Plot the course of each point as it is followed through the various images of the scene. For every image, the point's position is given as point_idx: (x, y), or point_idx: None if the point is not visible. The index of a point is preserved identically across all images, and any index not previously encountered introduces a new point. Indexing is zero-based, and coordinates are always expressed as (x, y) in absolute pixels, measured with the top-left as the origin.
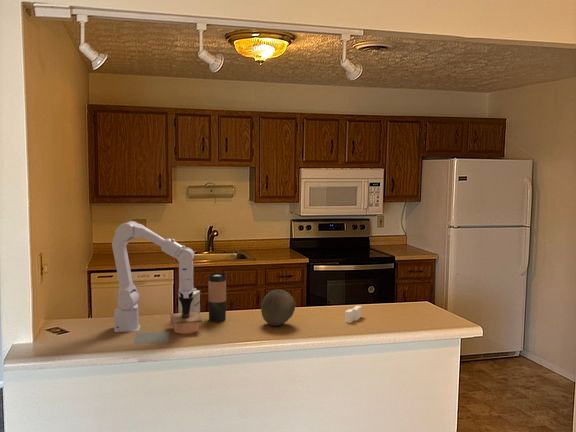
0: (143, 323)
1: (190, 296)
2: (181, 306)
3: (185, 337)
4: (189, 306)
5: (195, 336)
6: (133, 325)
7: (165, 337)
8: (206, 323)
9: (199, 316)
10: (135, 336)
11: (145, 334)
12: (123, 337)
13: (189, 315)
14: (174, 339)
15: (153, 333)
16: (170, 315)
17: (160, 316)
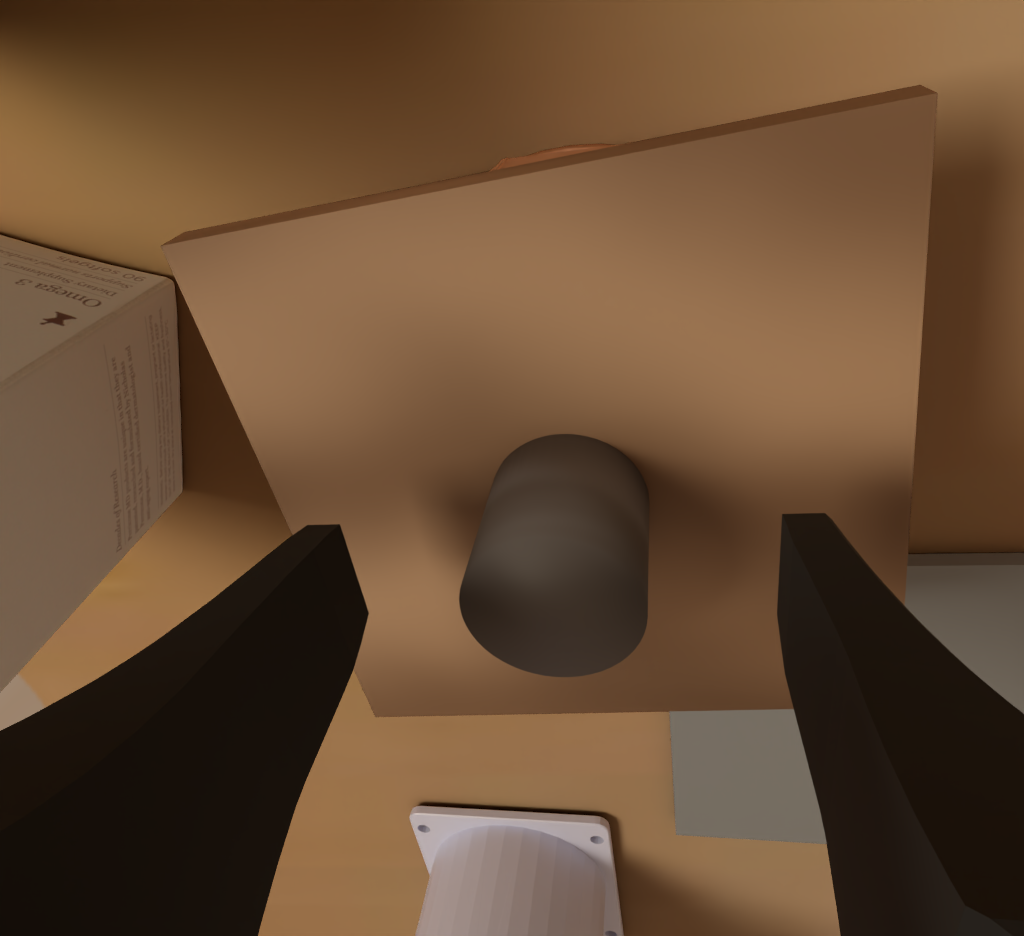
0: (321, 781)
1: (143, 770)
2: (31, 613)
3: (944, 344)
4: (953, 672)
5: (936, 173)
6: (584, 903)
7: (933, 605)
8: (139, 42)
9: (535, 206)
10: (805, 842)
11: (749, 777)
12: (767, 894)
13: (455, 438)
14: (999, 489)
15: (724, 718)
16: (476, 713)
17: (49, 667)
